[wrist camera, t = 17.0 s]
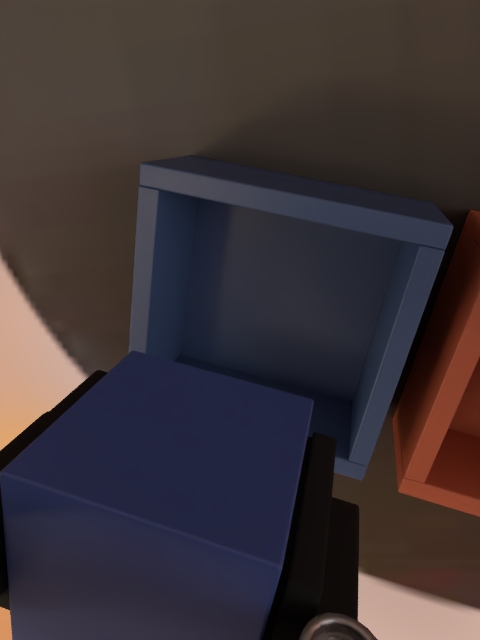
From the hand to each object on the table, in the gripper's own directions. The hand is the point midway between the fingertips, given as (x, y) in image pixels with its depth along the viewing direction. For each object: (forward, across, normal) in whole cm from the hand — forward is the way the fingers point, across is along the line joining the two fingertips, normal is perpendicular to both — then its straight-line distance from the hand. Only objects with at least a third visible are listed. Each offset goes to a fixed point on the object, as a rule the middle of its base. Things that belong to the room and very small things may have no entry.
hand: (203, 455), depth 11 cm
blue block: (0, 0, 0) cm, 0 cm away
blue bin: (+12, 0, 0) cm, 12 cm away
